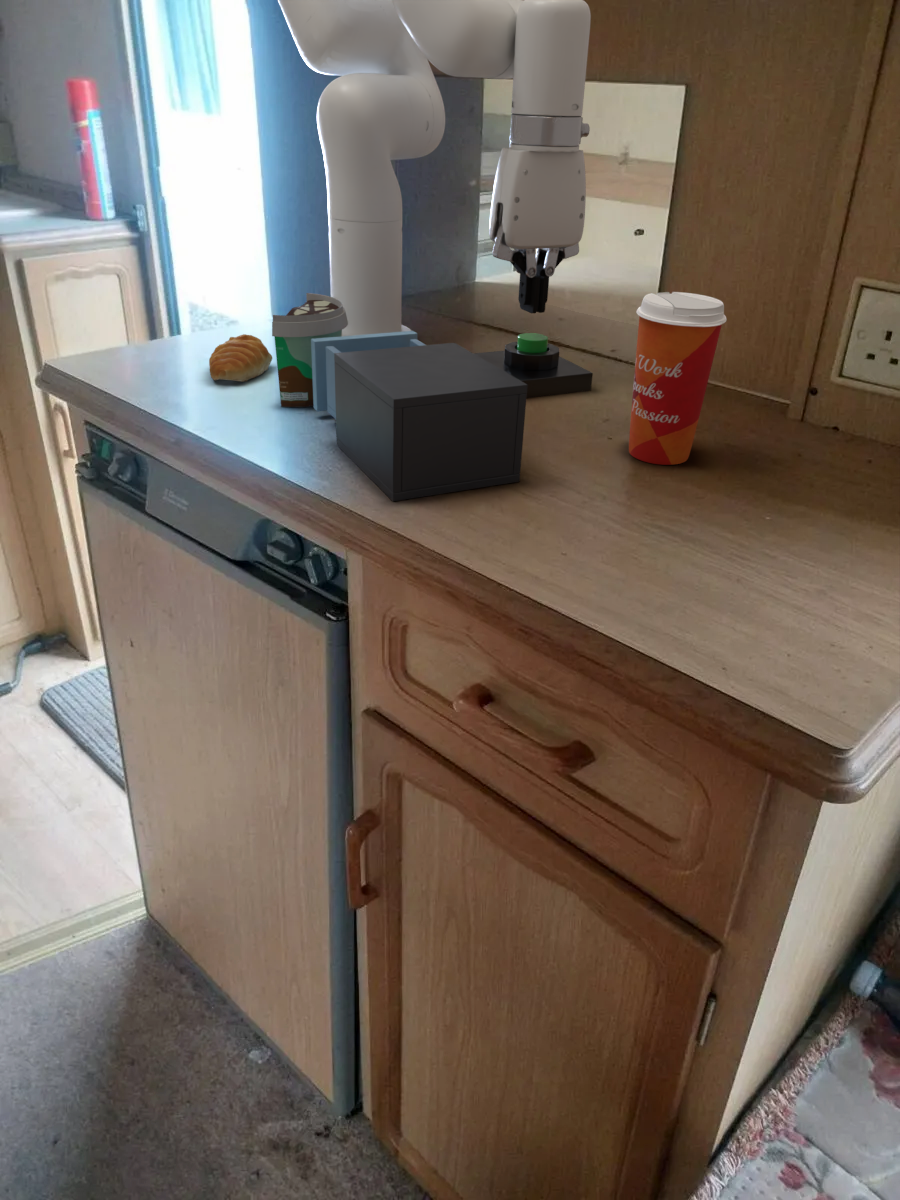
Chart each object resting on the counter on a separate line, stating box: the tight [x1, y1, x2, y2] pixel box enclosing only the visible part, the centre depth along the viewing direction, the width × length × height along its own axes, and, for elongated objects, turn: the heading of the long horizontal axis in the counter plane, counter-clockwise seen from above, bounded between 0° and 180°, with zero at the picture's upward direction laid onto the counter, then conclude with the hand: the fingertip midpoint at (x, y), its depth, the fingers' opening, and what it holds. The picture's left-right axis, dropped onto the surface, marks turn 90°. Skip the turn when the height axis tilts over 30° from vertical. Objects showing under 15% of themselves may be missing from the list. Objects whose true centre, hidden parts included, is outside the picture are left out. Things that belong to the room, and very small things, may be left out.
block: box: [472, 341, 594, 399], centre depth 110 cm, size 12×10×4 cm
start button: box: [516, 332, 549, 353], centre depth 109 cm, size 4×4×2 cm
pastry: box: [208, 333, 273, 383], centre depth 108 cm, size 9×7×4 cm
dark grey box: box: [334, 342, 528, 502], centre depth 85 cm, size 15×13×9 cm
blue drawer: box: [311, 330, 426, 420], centre depth 94 cm, size 19×11×7 cm, turn 26°
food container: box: [271, 292, 348, 408], centre depth 101 cm, size 12×6×10 cm, turn 170°
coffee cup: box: [628, 291, 728, 466], centre depth 87 cm, size 8×8×15 cm
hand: (532, 310), depth 107 cm, fingers closed
